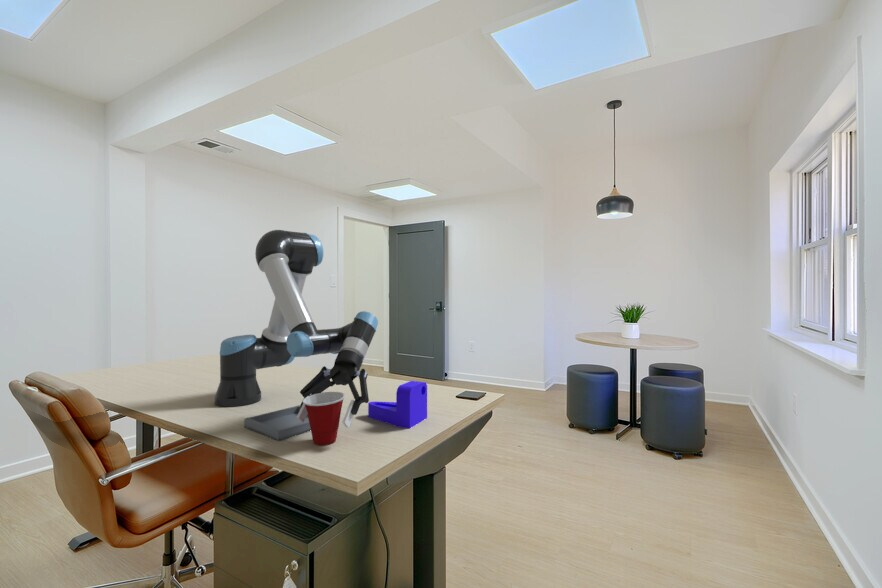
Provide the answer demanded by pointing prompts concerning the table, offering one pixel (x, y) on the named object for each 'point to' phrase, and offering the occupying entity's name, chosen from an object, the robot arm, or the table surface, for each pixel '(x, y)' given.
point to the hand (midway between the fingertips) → (322, 422)
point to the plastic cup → (324, 416)
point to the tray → (278, 423)
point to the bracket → (402, 406)
